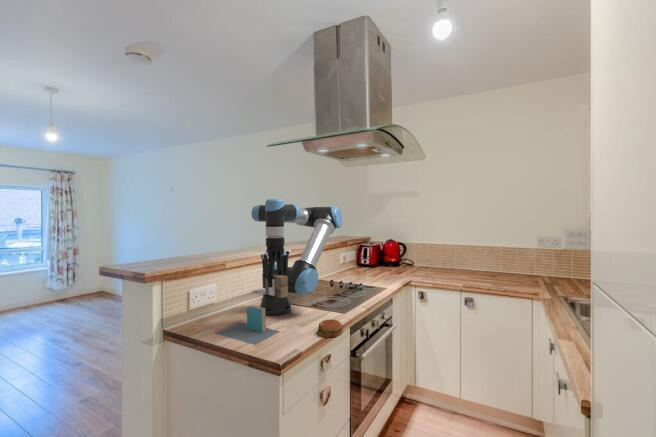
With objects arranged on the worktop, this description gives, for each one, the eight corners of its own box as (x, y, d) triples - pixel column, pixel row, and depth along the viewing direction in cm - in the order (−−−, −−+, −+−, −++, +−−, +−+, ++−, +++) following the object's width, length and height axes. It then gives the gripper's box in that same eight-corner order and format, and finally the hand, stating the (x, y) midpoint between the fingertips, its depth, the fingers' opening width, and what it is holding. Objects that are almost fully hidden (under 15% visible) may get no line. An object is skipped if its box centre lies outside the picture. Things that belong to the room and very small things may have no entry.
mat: (280, 332, 123) (280, 331, 123) (255, 346, 110) (255, 344, 110) (240, 323, 134) (240, 322, 134) (214, 334, 122) (214, 333, 122)
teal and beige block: (250, 326, 128) (250, 305, 128) (265, 330, 124) (265, 308, 124) (247, 328, 126) (246, 306, 126) (262, 332, 122) (261, 309, 122)
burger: (347, 334, 121) (346, 322, 120) (327, 340, 115) (327, 328, 115) (332, 326, 129) (332, 315, 129) (313, 332, 123) (313, 320, 123)
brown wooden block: (290, 295, 125) (289, 275, 125) (278, 298, 121) (278, 278, 121) (263, 289, 137) (262, 271, 137) (251, 291, 132) (251, 273, 132)
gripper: (284, 235, 135) (285, 288, 135) (252, 238, 122) (253, 296, 123) (296, 235, 130) (297, 291, 130) (264, 238, 117) (265, 300, 118)
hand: (276, 293), depth 126 cm, fingers closed on brown wooden block, 3 cm apart
